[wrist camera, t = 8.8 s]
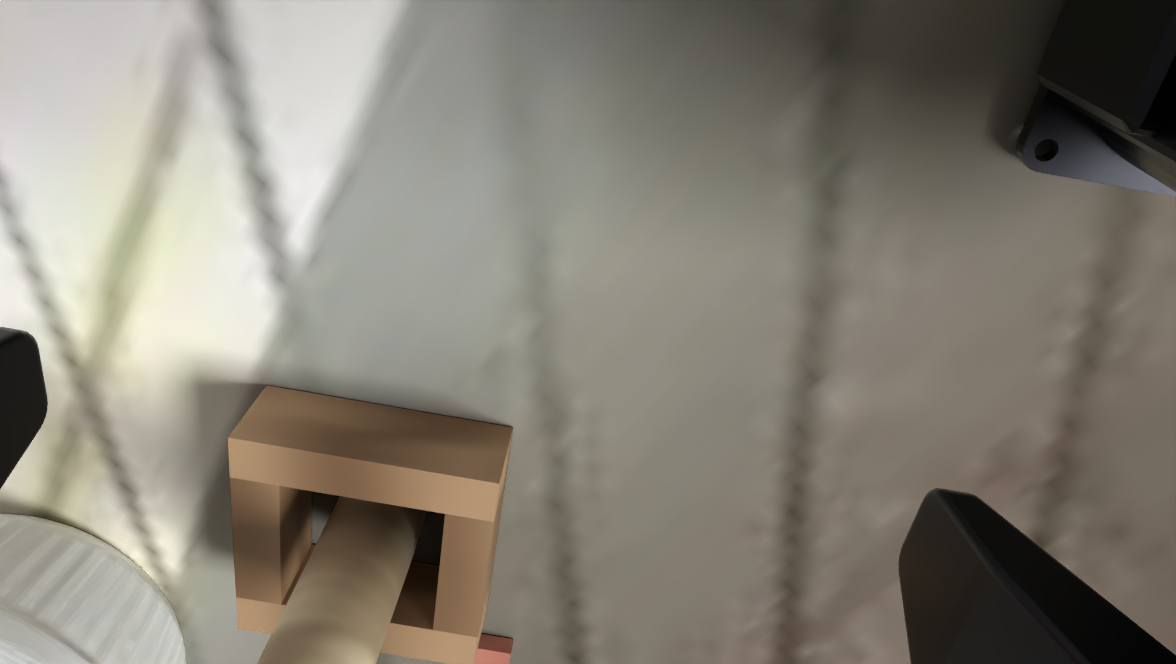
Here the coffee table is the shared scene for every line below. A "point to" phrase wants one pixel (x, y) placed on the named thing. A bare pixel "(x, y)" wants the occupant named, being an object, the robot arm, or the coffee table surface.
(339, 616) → the dowel
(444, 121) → the coffee table surface
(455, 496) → the wooden square frame
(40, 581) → the ramekin
